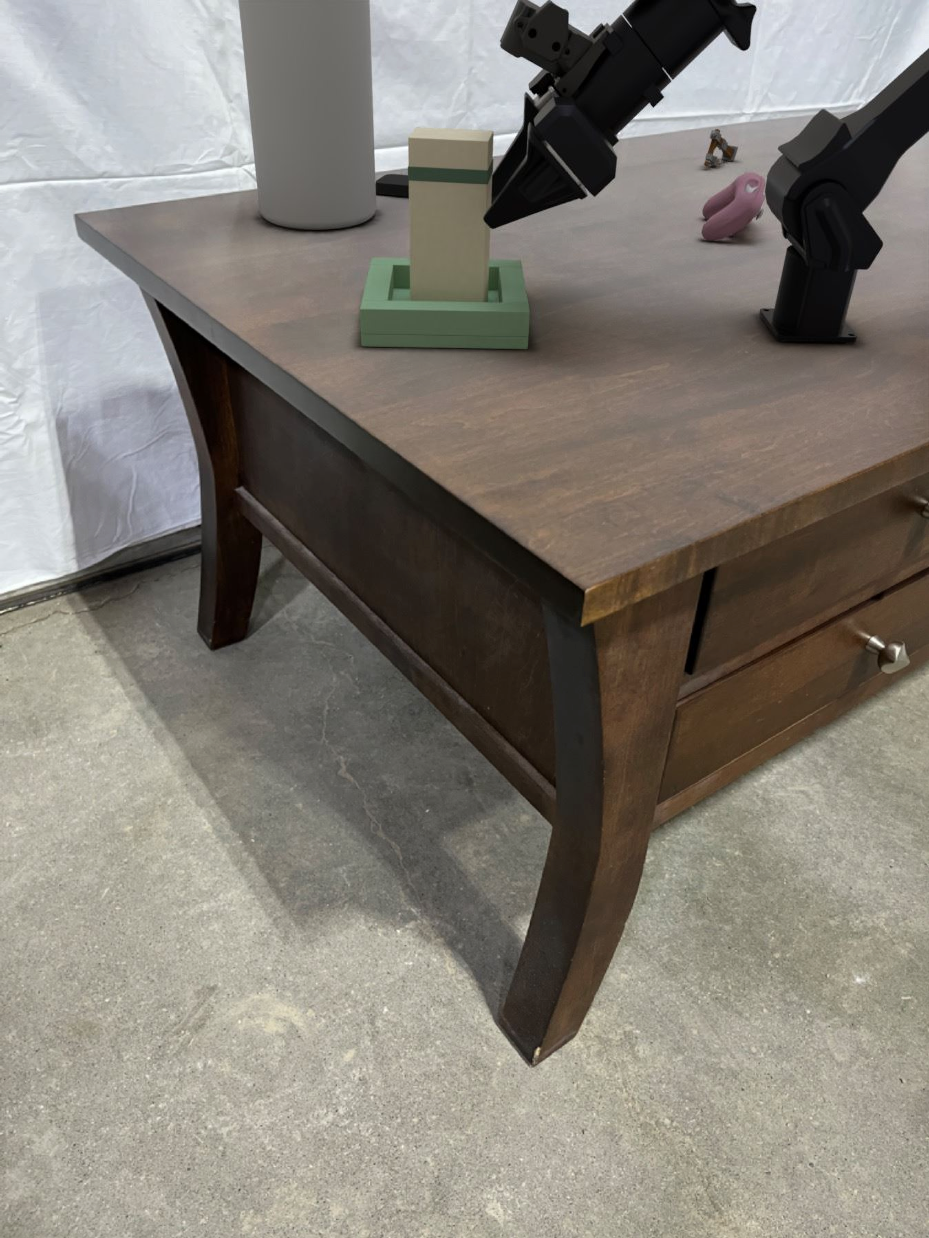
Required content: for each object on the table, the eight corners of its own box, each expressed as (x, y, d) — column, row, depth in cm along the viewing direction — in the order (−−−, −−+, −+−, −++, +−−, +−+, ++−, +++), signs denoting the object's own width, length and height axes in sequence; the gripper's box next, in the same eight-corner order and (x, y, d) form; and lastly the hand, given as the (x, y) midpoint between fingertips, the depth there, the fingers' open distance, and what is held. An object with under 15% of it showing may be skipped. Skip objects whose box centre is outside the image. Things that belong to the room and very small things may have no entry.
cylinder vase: (358, 197, 113) (346, -67, 98) (391, 226, 104) (384, -61, 89) (249, 205, 110) (220, -68, 95) (274, 236, 100) (246, -62, 85)
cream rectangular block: (488, 299, 83) (494, 130, 76) (483, 315, 80) (489, 141, 72) (417, 294, 84) (416, 126, 76) (409, 311, 81) (407, 137, 73)
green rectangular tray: (527, 349, 77) (530, 311, 75) (361, 346, 77) (359, 308, 75) (519, 294, 88) (521, 260, 86) (372, 291, 87) (371, 257, 86)
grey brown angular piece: (697, 162, 128) (708, 125, 126) (715, 179, 134) (726, 143, 133) (710, 164, 127) (721, 126, 126) (728, 181, 134) (738, 145, 132)
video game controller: (734, 260, 102) (777, 198, 98) (697, 236, 102) (739, 173, 97) (732, 234, 110) (773, 176, 106) (698, 212, 109) (737, 152, 105)
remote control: (372, 199, 115) (496, 205, 112) (371, 182, 114) (496, 188, 111) (386, 189, 119) (507, 195, 115) (385, 173, 118) (507, 178, 114)
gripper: (565, -56, 74) (421, 104, 81) (582, -42, 59) (403, 153, 66) (656, 64, 79) (512, 206, 86) (693, 106, 64) (515, 274, 71)
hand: (487, 208), depth 77 cm, fingers open, 9 cm apart
